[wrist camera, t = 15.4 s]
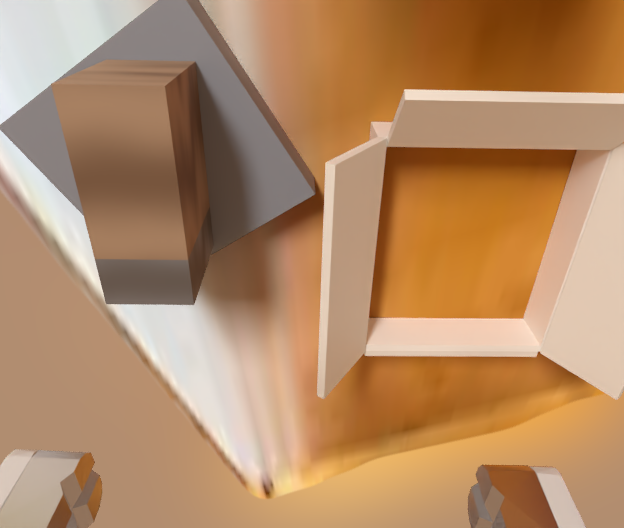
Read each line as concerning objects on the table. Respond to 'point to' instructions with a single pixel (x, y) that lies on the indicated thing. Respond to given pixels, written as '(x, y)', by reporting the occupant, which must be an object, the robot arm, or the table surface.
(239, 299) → the table surface
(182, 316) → the table surface
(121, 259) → the walnut block
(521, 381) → the table surface
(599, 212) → the carton
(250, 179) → the slate platform
